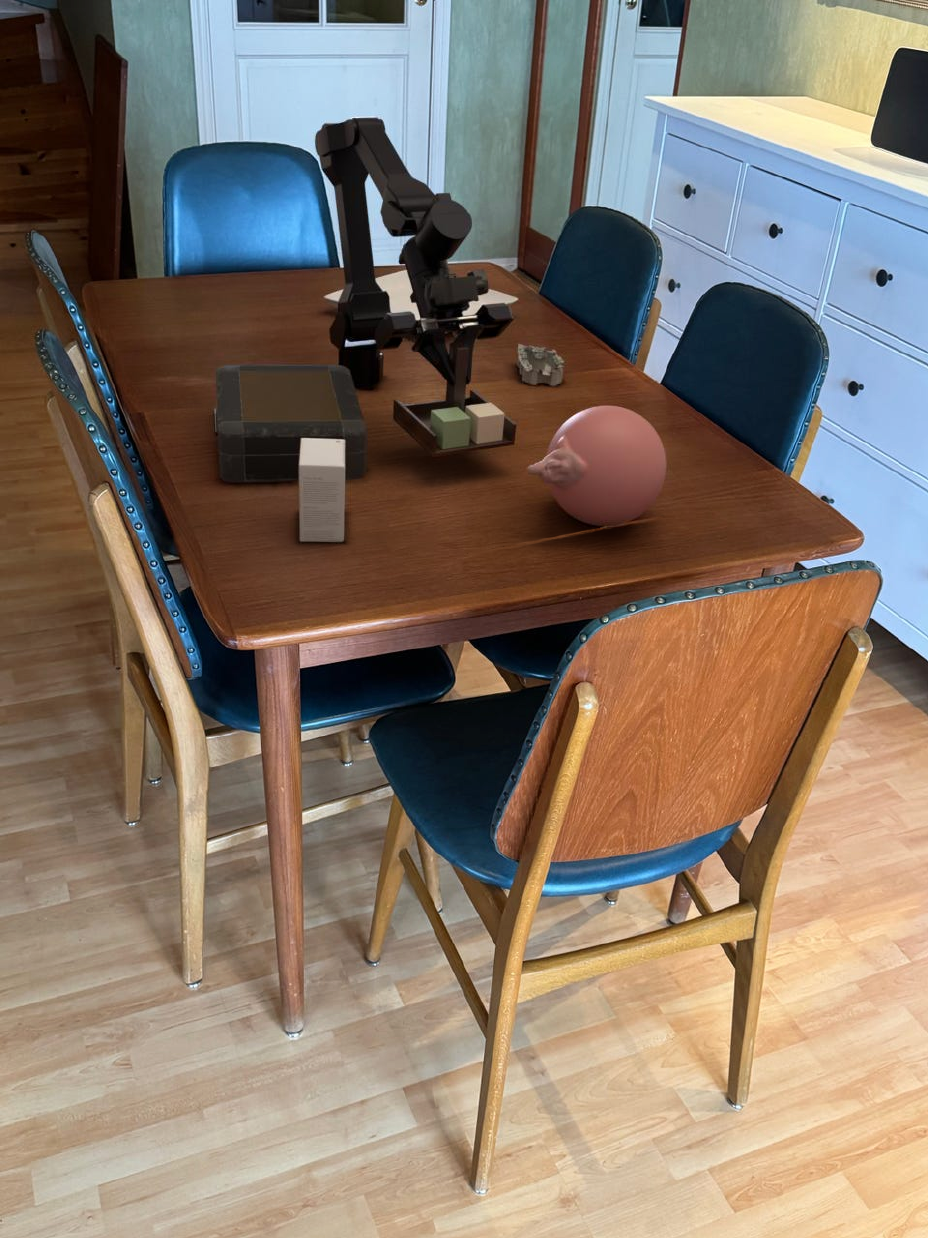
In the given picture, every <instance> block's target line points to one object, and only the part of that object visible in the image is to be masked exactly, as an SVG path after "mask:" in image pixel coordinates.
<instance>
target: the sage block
mask: <svg viewBox="0 0 928 1238" xmlns="http://www.w3.org/2000/svg"><path fill="white" fill-rule="evenodd" d="M470 421H471V418H470V417H469V416H467V415H466V414H465V413H464V412H463V411H462V410H460V409H459V408H458V407H453V408H446V409H438V410H431V422H430V429H431V430H432V431H433V432H434V433H435V434H436V435H437V445H438V446H439V447H440V448H441V449H448V448H455V447H462V446H468V445H469V433H470Z"/></svg>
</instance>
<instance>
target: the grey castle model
mask: <svg viewBox="0 0 928 1238" xmlns="http://www.w3.org/2000/svg"><path fill="white" fill-rule="evenodd" d="M516 366H517V368H518V369H519V374H520V376H521V380H522V382H523V383H526V384H529V385H531V386H537V384H547V385H549V386H552V387H555V386H557V385H559V384H561V383H562V382H563V377H564V370H563V368H564V367H565V360H564V359H563V358H562V357H561V356H559V355H558V354H557V351H556V350H555V349H554V348H552V349H551V350H547V349H546V347H545V346H543V347H539V346H533V345H528V346H527V345H524V344H521V343H518V345H517V365H516Z"/></svg>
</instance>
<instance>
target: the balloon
mask: <svg viewBox="0 0 928 1238" xmlns="http://www.w3.org/2000/svg"><path fill="white" fill-rule="evenodd" d="M526 472H527V474H528V475H534V476H538V478H539V481H541V482H542V483H543V484H545V485H548V487H549V490H550V492H551V494H552V496H553V498H554V500H555V501H556V502H557V504H558V505H559V507H560V508H561V509H563V510H564V512H565V513H567V514H568V515H569V516H571V517H573V518H574V519H576V520H578V521H580V522H582V523H585V524H587V525H591V526H595V527H613V526H614V527H615V526H619V525H623V524H626V523H628V522H631V521H633V520H634V519H637V518H638V517H640V516H641V515H643V514H644V513H645V512H646V511H648V510H649V508H650V507H651V506H652V505H653V504H654V503H655V501H656V500H657V498H658V497H659V495H660V493H661V492H662V489H663V485H664V483H665V480H666V475H667V455H666V449H665V447H664V444H663V442H662V439H661V437H660V435H659V434H658V432H657V430H656V429H655V428H654V426H653V425H652V424H651V423H650V422H649V421H648V420H646V419H645V417H643V416H641V415H640V414H639V413H637V412H635V411H632V410H631V409H628V408H626V407H622V406H616V405H598V406H593V407H589V408H585V409H583V410H581V411H579V412H577V413H576V414H574V415H573V416H571V417H569V418H568V419H567V420H566V421H565V422H564V423H563V424H562V425H561V426H560V427H559V428H558V429H557V431H556V432H555V433H554V436H553V437H552V439H551V441H550V444H549V446H548V450H547V453H546V456H545V457H544V458H543V459H542V460H540V461H539V462H536V463H535V464H531V465H528V467H527V468H526Z"/></svg>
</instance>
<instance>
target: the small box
mask: <svg viewBox="0 0 928 1238" xmlns="http://www.w3.org/2000/svg"><path fill="white" fill-rule="evenodd" d="M345 501H346V479H345V440H342V439H315V438H301V442H300V455H299V480H298V506H299V507H298V516H299V518H298V519H299V542H304V543H305V542H306V543H307V542H308V543H309V542H310V543H311V542H312V543H315V542H317V543H343V542H345V506H346V505H345V504H346V502H345Z"/></svg>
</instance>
